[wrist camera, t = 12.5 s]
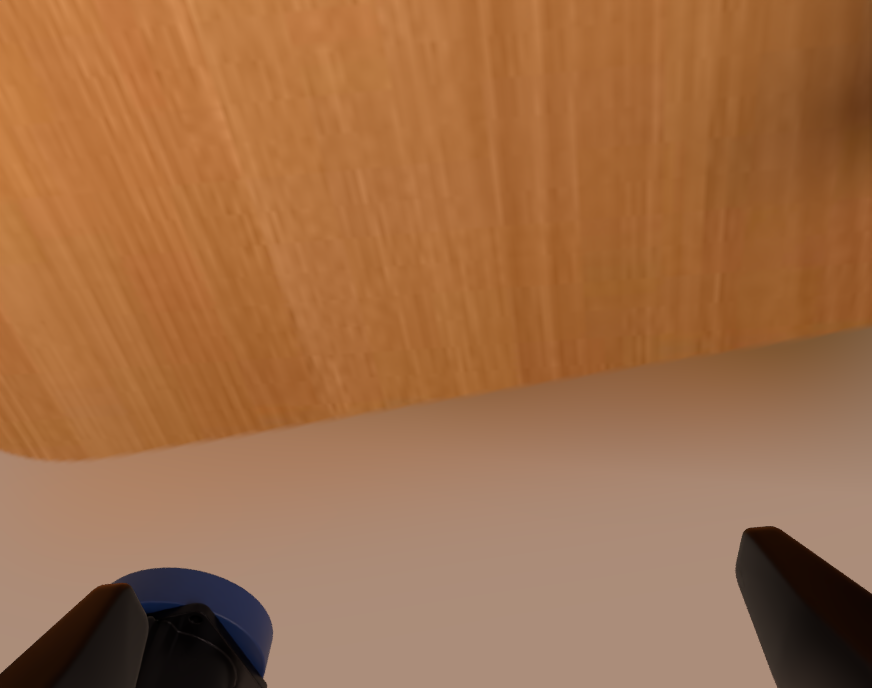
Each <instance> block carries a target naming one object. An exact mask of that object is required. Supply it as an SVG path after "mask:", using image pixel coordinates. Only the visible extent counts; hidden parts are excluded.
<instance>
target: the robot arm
mask: <svg viewBox="0 0 872 688" xmlns="http://www.w3.org/2000/svg"><path fill="white" fill-rule="evenodd" d="M736 578H737V582H738V585H739V588H740V590H741V593H742V596H743V598H744V601H745V604H746V606H747V609H748V612H749V614H750V617H751V620H752V622H753V625H754V628H755V630H756V633H757V636H758V638H759V641H760V644H761V646H762V649H763V652H764V654H765V657H766V660H767V662H768V665H769V668H770V670H771V673H772V675H773V678H774V680H775V683H776V685H777V688H872V594H871V593H870V592H868V591H867V590H866V589H864V588H863V587H861V586H860V585H859V584H857V583H856V582H854V581H853V580H851V579H850V578H849V577H847V576H846V575H844V574H843V573H841V572H840V571H839V570H837V569H836V568H834V567H833V566H831V565H830V564H829V563H827V562H826V561H824V560H823V559H822V558H820V557H819V556H817V555H816V554H815V553H813V552H812V551H810V550H809V549H808V548H806V547H805V546H803V545H802V544H800V543H799V542H798V541H796V540H795V539H793V538H792V537H790V536H789V535H788V534H786V533H785V532H783V531H782V530H780V529H778V528H776V527H773V526H765V527H754V528H748V529H746V530H745V531H744V532H743V535H742V539H741V543H740V548H739V552H738V557H737V562H736ZM0 688H267V683H266V682H265V680H264V679H263V678H262V676H261V675H260V674H259V672H258V671H257V670H256V668H255V667H254V666H253V664H252V663H251V662H250V660H249V659H248V658H247V656H246V655H245V654H244V652H243V651H242V650H241V648H240V647H239V646H238V645H237V643H236V642H235V641H234V639H233V638H232V637H231V635H230V634H229V633H228V631H227V630H226V629H225V627H224V626H223V625H222V623H221V622H220V621H219V619H218V618H217V617H216V615H215V614H214V613H213V611H212V610H211V609H210V608H209V607H208V606H207V605H205V604H202V603H192V604H188V605H183V606H179V607H174V608H170V609H166V610H161V611H157V612H153V613H148V614H146V613H145V611H144V610H143V608H142V606H141V604H140V602H139V600H138V598H137V596H136V594H135V592H134V590H133V588H132V587H131V586H130V585H128V584H127V583H117V584H105V585H101V586H98V587H97V588H95V589H94V590H93V591H91V592H90V593H89V594H88V595H87V596H86V597H85V598H84V599H83V600H82V601H80V602H79V603H78V604H77V605H76V606H75V607H74V608H73V609H72V610H71V611H69V612H68V613H67V614H66V615H65V616H64V617H63V618H62V619H61V620H60V621H58V622H57V623H56V624H55V625H54V626H53V627H52V628H51V629H49V630H48V631H47V632H46V633H45V634H44V635H43V636H42V637H41V638H40V639H38V640H37V641H36V642H35V643H34V644H33V645H32V646H31V647H30V648H28V649H27V650H26V651H25V652H24V653H23V654H22V655H21V656H20V657H18V658H17V659H16V660H15V661H14V662H13V663H12V664H11V665H10V666H8V667H7V668H6V669H5V670H4V671H3V672H2V673H1V674H0Z"/></svg>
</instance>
